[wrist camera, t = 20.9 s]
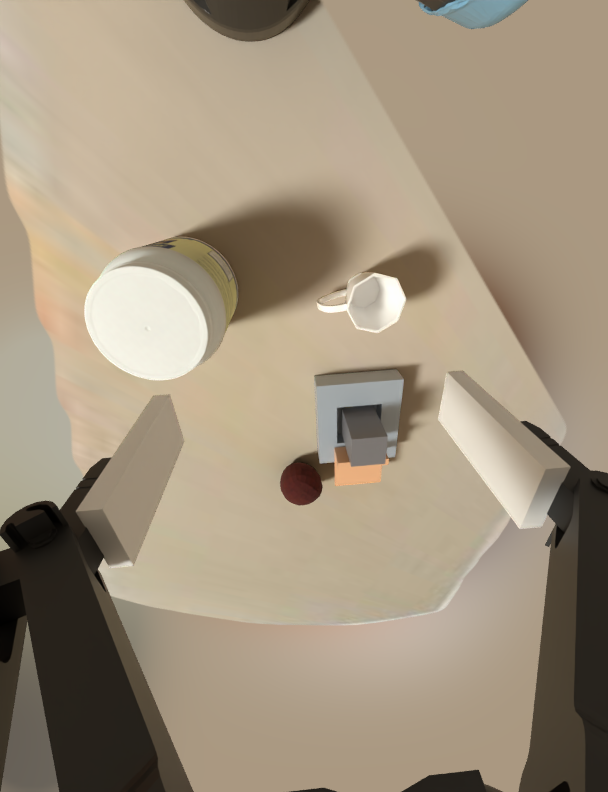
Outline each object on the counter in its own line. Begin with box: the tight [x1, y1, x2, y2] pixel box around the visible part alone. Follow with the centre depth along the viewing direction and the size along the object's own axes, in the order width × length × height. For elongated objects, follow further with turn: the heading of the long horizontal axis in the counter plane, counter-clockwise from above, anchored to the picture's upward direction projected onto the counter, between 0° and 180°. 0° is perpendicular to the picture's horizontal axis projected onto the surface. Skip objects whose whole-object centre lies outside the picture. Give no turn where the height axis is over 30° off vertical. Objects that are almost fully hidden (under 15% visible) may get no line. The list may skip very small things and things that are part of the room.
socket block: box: [314, 369, 404, 463], centre depth 53 cm, size 15×13×4 cm
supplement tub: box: [85, 237, 238, 380], centre depth 35 cm, size 12×12×17 cm
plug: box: [342, 406, 388, 467], centre depth 50 cm, size 5×5×9 cm
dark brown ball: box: [280, 463, 322, 505], centre depth 57 cm, size 7×8×7 cm
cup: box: [317, 272, 406, 333], centre depth 41 cm, size 7×10×8 cm
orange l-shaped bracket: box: [334, 447, 389, 486], centre depth 54 cm, size 8×8×4 cm
